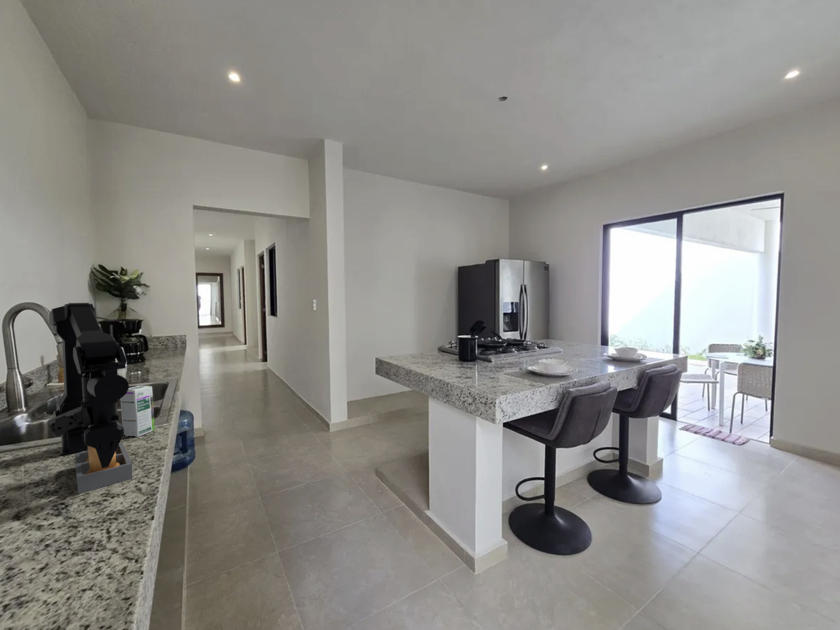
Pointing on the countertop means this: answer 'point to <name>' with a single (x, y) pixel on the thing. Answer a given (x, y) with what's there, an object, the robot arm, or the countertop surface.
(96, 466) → the tan pear-shaped knob
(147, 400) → the syrup box
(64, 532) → the countertop surface
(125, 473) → the gray divided tray
